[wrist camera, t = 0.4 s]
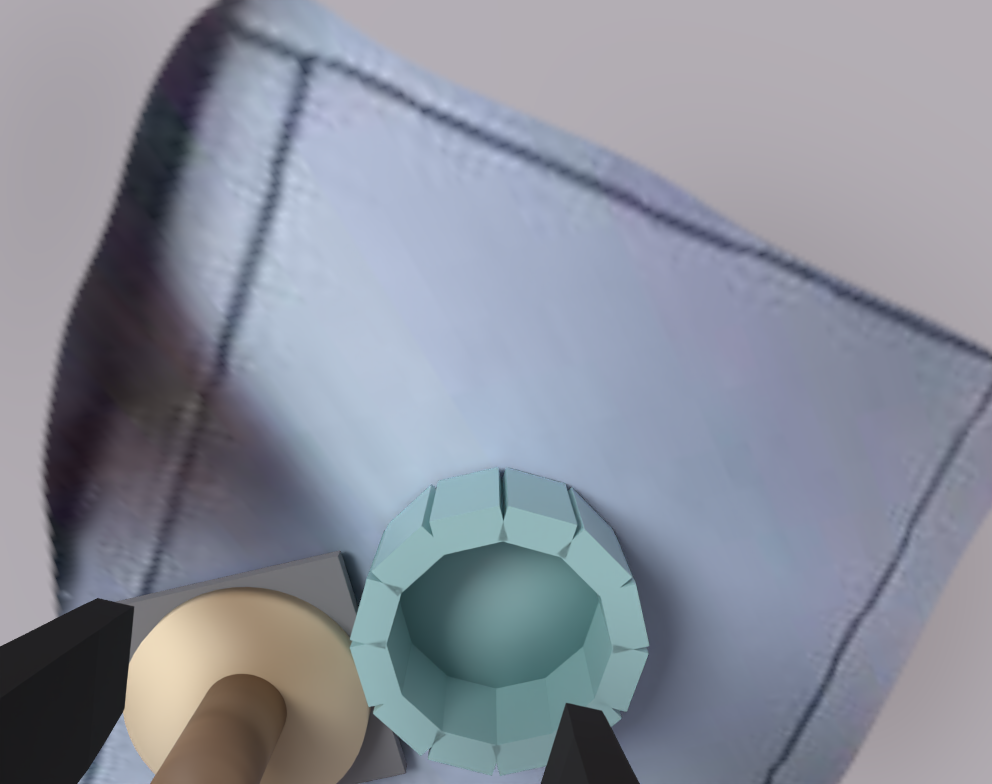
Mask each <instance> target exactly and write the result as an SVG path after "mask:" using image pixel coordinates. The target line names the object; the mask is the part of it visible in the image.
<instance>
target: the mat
mask: <svg viewBox="0 0 992 784" xmlns="http://www.w3.org/2000/svg"><path fill="white" fill-rule="evenodd" d="M231 587H255V588H265V589H270V590H275V591H280V592H283V593H286V594H289V595H292V596H295V597H297V598H299V599H301V600H304V601H306V602H308V603H310V604H312V605H313V606H315V607H316V608H318V609H320V610H321V611H323V612H324V613H325V614H327V615H328V616H329V617H330V618H332V619H333V620H334V621H335V622H336V623H337V624H338V625H339V626H340V627H341V628H342V629H343V630H344V631H345V632H346V633H347V635H348V636H349V637H351V633H352V630H353V626H354V623H355V619H356V616H357V612H358V605H357V602H356V599H355V596H354V592H353V589H352V586H351V583H350V580H349V576H348V573H347V570H346V567H345V563H344V560H343V557H342V554H341V551H336V552H331V553H327V554H323V555H318V556H314V557H310V558H305V559H301V560H296V561H292V562H288V563H283V564H279V565H274V566H270V567H266V568H261V569H257V570H253V571H248V572H244V573H239V574H235V575H231V576H226V577H222V578H218V579H213V580H209V581H204V582H200V583H196V584H191V585H187V586H183V587H178V588H174V589H169V590H165V591H161V592H156V593H152V594H148V595H143V596H139V597H134V598H130V599H126V600H121V601H117V603H121V604H126V605H130V606H135V607H134V617H133V627H132V638H131V648H130V658H129V663H130V661H131V659H132V657H133V655H134V653H135V652H136V650H137V648H138V647H139V645H140V644H141V642H142V641H143V640H144V639H145V638H146V637H147V635H148V634H149V633H150V632H151V631H152V630H153V628H154V627H155V626H156V625H157V624H158V623H159V622H160V621H161V620H162V618H163V617H165V616H166V615H167V614H168V613H169V612H171V611H172V610H173V609H174V608H176V607H177V606H179V605H181V604H182V603H184V602H186V601H187V600H190V599H192V598H194V597H196V596H199V595H201V594H204V593H208V592H211V591H214V590H219V589H225V588H231ZM374 707H375V706H371V710H370V715H369V720H368V725H367V729H366V732H365V736H364V740H363V743H362V746H361V748H360V751H359V754H358V755H357V757H356V759H355V761H354V763H353V764H352V766H351V767H350V769H349V770H348V771H347V773H346V774H345V775H344V777H343V778H342V779H341V780H339V781H338V782H337V783H336V784H358V783H363V782H368V781H372V780H377V779H382V778H386V777H391V776H396V775H400V774H405V773H406V767H407V763H406V760H405V757H404V754H403V750H402V747H401V744H400V741H399V738H398V735H397V734H395V733H394V732H393V731H392V730H391V729H390V728H389V727H388V726H386V725H385V724H384V723H383V722H382V721H381V720H380V719H379V718H377V717H376V716H375V715H374V714H373V711H374Z"/></svg>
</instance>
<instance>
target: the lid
mask: <svg viewBox="0 0 992 784" xmlns="http://www.w3.org/2000/svg"><path fill="white" fill-rule="evenodd" d="M351 643H352V640H350V637H349V636H348V635H347V633H346V632H345V631H344V630H343V629H342V628H341V627H340V626H339V625H338V624H337V623H336V622H335V621H334V620H333V619H332V618H330V617H329V616H328V615H327V614H325V613H324V612H323V611H321V610H320V609H318V608H316V607H315V606H313V605H312V604H310V603H308V602H306V601H304V600H301V599H299V598H297V597H295V596H292V595H289V594H286V593H283V592H280V591H275V590H270V589H265V588H255V587H231V588H225V589H219V590H214V591H211V592H208V593H204V594H201V595H199V596H196V597H194V598H192V599H190V600H187V601H186V602H184V603H182V604H181V605H179V606H177V607H176V608H174V609H173V610H172V611H171V612H169V613H168V614H167V615H166V616H165V617H163V618H162V620H161V621H160V622H159V623H158V624H157V625H156V626H155V627H154V628H153V630H152V631H151V632H150V633H149V634H148V635H147V637H146V638H145V639H144V640H143V641H142V642H141V644H140V645H139V647H138V648H137V650H136V652H135V653H134V655H133V657H132V659H131V661H130V663H129V669H128V679H127V689H126V700H125V709H124V711H123V714H124V720H125V724H126V727H127V730H128V733H129V736H130V738H131V741H132V743H133V745H134V747H135V749H136V750H137V752H138V753H139V755H140V757H141V758H142V760H143V761H144V762H145V764H146V765H147V766H148V767H149V768H150V769H151V771H152V772H153V773H154V774H155V777H154V778H153V780H152V781H151V783H150V784H336V783H337V782H338V781H339V780H341V779H342V778H343V777H344V775H345V774H346V773H347V771H348V770H349V769H350V767H351V766H352V764H353V763H354V761H355V759H356V757H357V755H358V754H359V751H360V748H361V746H362V743H363V740H364V736H365V732H366V729H367V725H368V720H369V715H370V710H371V707H368V703H367V700H366V697H365V694H364V691H363V688H362V685H361V681H360V678H359V675H358V672H357V669H356V666H355V662H354V659H353V656H352V653H351V650H350V646H351Z"/></svg>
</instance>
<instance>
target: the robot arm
mask: <svg viewBox="0 0 992 784" xmlns="http://www.w3.org/2000/svg"><path fill="white" fill-rule="evenodd" d="M134 607H135V606H130V605H126V604H121V603H117V602H112V601H108V600H103V599H99V598H97V599H95V600H93V601H91V602H88V603H86V604H84V605H82V606H80V607H78V608H76V609H74V610H72V611H70V612H68V613H66V614H64V615H62V616H60V617H58V618H56V619H54V620H52V621H50V622H48V623H46V624H44V625H42V626H41V627H38V628H37V629H35V630H32V631H30V632H29V633H27V634H25V635H23V636H21V637H19V638H17V639H14V640H12V641H10V642H8V643H6V644H4V645H2V646H0V784H77V783H78V782H79V781H80V779H81V778H82V777H83V775H84V774H85V773H86V771H87V770H88V769H89V767H90V765H91V764H92V762H93V761H94V759H95V757H96V756H97V754H98V753H99V751H100V749H101V748H102V746H103V745H104V743H105V741H106V740H107V738H108V736H109V735H110V733H111V731H112V730H113V728H114V726H115V724H116V723H117V721H118V719H119V718H120V716H121V714H122V713H123V711H124V709H125V700H126V689H127V679H128V669H129V658H130V648H131V638H132V627H133V617H134ZM541 784H640V783H639V782H638V780H637V778H636V776H635V774H634V772H633V770H632V768H631V766H630V764H629V762H628V760H627V758H626V756H625V754H624V752H623V750H622V748H621V746H620V744H619V742H618V740H617V738H616V736H615V734H614V732H613V730H612V728H611V726H610V724H609V722H608V720H607V718H606V716H605V715H604V713H603V711H602V710H597V709H593V708H588V707H584V706H579V705H575V704H570V703H566V704H565V707H564V710H563V714H562V717H561V720H560V723H559V727H558V730H557V733H556V736H555V740H554V743H553V746H552V749H551V752H550V756H549V759H548V762H547V765H546V769H545V772H544V775H543V778H542V782H541Z"/></svg>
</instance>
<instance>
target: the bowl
mask: <svg viewBox="0 0 992 784" xmlns="http://www.w3.org/2000/svg"><path fill="white" fill-rule="evenodd" d="M350 640H352V643H351V646H350V650H351V653H352V656H353V659H354V662H355V666H356V669H357V672H358V675H359V678H360V681H361V685H362V688H363V691H364V694H365V697H366V700H367V703H368V707H371V706H375V707H374V711H373V714H374V715H375V716H376V717H377V718H379V719H380V720H381V721H382V722H383V723H384V724H385V725H386V726H388V727H389V728H390V729H391V730H392V731H393V732H394V733H395V734H397V735H398V736H399V737H400V738H401V739H402V740H403V741H404V742H406V743H407V744H408V745H409V746H410V747H411V748H412V749H413V750H415V751H416V752H417V753H418V754H419V755H420V756H421V755H422V754H424V753H425V752H426V751H427V750H428V749H429V755H428V760H431V761H435V762H439V763H443V764H447V765H451V766H455V767H459V768H463V769H467V770H471V771H475V772H479V773H483V774H487V775H491V776H492V774H493V771H494V768H495V765H496V763H497V767H498V770H499V774H500V776H502V775H506V774H511V773H516V772H520V771H525V770H530V769H535V768H539V767H544V766H546V765H547V762H548V759H549V756H550V752H551V749H552V746H553V743H554V740H555V736H556V733H557V730H558V727H559V723H560V720H561V717H562V714H563V710H564V707H565V704H566V703H570V704H575V705H579V706H584V707H588V708H593V709H597V710H602V711H603V713H604V715H605V716H606V718H607V720H608V722H609V724H610V726H611V727H612V726H613V725H614V724H616V723H617V722H618V721H619V720H620V719H622V716H621V713H620V710H621V711H625V712H627V710H628V707H629V704H630V702H631V699H632V697H633V694H634V691H635V689H636V686H637V683H638V681H639V678H640V675H641V673H642V670H643V668H644V665H645V662H646V660H647V657H648V654H649V653H648V650H647V648H646V647H647V646H649V642H648V637H647V633H646V628H645V623H644V619H643V614H642V610H641V605H640V600H639V596H638V591H637V586H636V583H635V581H634V578H633V576H632V573H631V571H630V568H629V566H628V563H627V561H626V559H625V556H624V554H623V551H622V549H621V546H620V544H619V541H618V539H617V537H616V536H615V534H614V531H613V529H612V528H611V527H610V526H609V525H608V524H607V523H606V522H605V521H604V520H603V519H602V518H601V517H600V516H599V515H598V514H597V513H596V512H595V511H594V510H593V509H592V508H591V507H590V506H589V505H588V504H587V503H586V502H585V501H584V499H583V498H582V497H581V496H580V495H579V494H578V493H577V492H576V491H575V490H574V489H573V488H571V489H569V490H568V491H567V488H566V484H565V483H561V482H557V481H554V480H550V479H547V478H543V477H540V476H536V475H532V474H529V473H525V472H522V471H518V470H515V469H511V468H507V467H506V469H505V472H504V475H503V478H502V479H501V475H500V471H499V467H496V468H492V469H487V470H483V471H479V472H474V473H470V474H466V475H461V476H457V477H453V478H448V479H444V480H440V481H438V484H437V488H435V487H434V486H433V485H432V484H431V485H430V486H429V487H428V488H427V489H426V490H425V491H424V492H423V493H422V494H420V495H419V496H418V497H417V498H416V499H415V500H414V501H413V502H412V503H411V504H410V505H408V506H407V507H406V508H405V509H404V510H403V511H402V512H401V513H400V514H399V515H398V516H397V517H395V518H394V519H393V520H392V521H391V522H390V523H389V524H388V526H387V529H386V531H385V530H384V532H383V535H382V538H381V541H380V544H379V546H378V549H377V552H376V555H375V557H374V560H373V563H372V566H371V568H370V571H369V574H368V577H367V580H366V583H365V587H364V590H363V594H362V598H361V601H360V605H359V608H358V612H357V616H356V619H355V623H354V626H353V630H352V633H351V637H350Z"/></svg>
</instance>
